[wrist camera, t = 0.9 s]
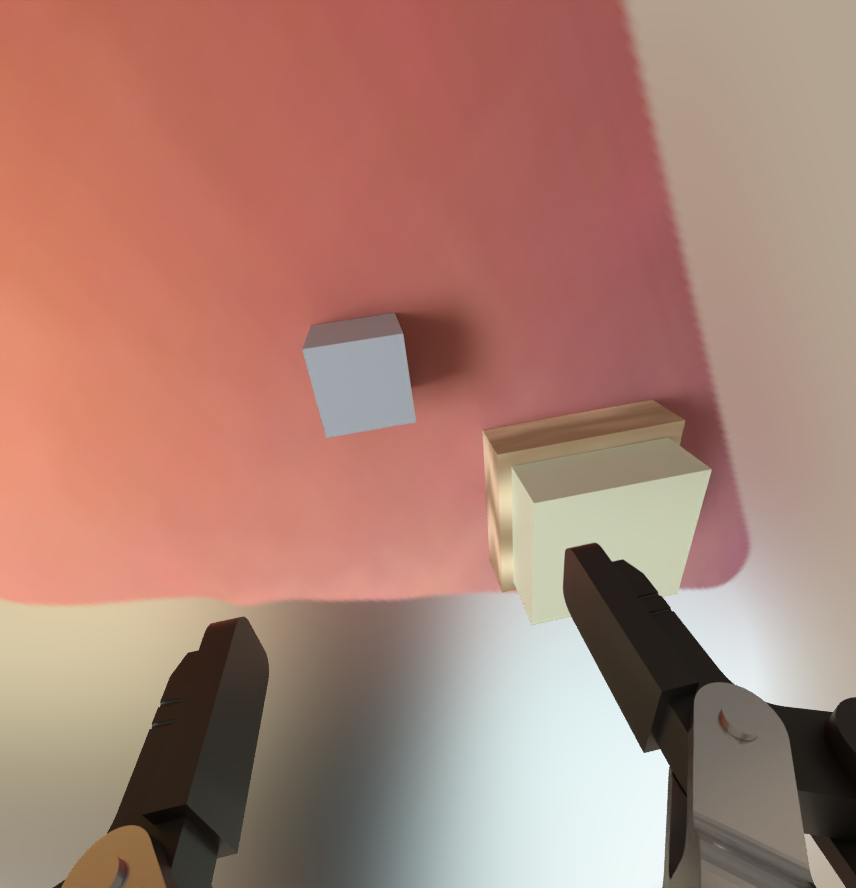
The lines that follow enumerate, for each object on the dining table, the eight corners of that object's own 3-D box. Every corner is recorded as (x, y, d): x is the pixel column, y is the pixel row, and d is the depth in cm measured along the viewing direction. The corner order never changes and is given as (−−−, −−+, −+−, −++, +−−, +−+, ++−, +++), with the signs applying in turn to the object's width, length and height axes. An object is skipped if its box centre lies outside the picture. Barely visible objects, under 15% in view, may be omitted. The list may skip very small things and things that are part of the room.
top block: (511, 466, 27) (534, 503, 24) (668, 437, 28) (712, 469, 25) (513, 581, 33) (531, 625, 29) (644, 554, 34) (677, 593, 30)
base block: (480, 427, 30) (497, 454, 27) (648, 397, 31) (685, 420, 28) (488, 556, 37) (502, 592, 33) (627, 528, 38) (654, 560, 34)
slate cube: (311, 325, 25) (302, 349, 20) (394, 312, 25) (403, 333, 21) (330, 401, 27) (326, 437, 23) (406, 389, 28) (416, 422, 23)
